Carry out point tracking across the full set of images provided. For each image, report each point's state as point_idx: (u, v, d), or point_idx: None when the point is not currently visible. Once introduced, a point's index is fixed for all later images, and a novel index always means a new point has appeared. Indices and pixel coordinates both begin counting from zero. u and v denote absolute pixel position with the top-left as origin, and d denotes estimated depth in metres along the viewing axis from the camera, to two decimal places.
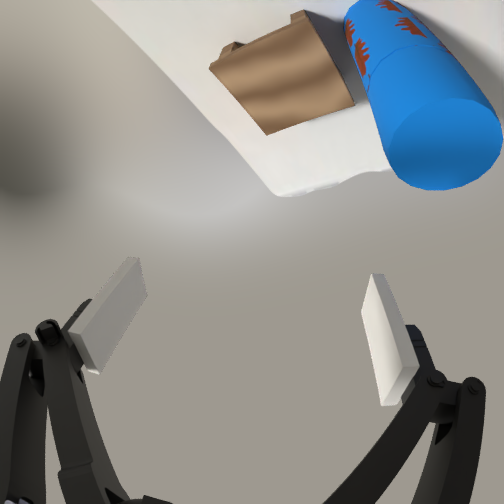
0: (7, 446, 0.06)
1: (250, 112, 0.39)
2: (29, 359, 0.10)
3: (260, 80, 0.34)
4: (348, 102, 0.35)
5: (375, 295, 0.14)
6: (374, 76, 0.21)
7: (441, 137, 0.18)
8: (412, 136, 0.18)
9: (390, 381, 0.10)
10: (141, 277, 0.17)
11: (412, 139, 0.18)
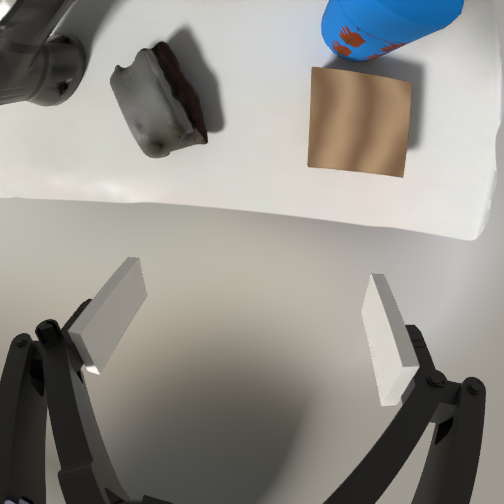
0: (7, 446, 0.06)
1: (371, 170, 0.39)
2: (29, 359, 0.10)
3: (346, 138, 0.37)
4: (406, 85, 0.32)
5: (375, 295, 0.14)
6: (355, 21, 0.21)
7: None
8: None
9: (390, 381, 0.10)
10: (141, 277, 0.17)
11: None
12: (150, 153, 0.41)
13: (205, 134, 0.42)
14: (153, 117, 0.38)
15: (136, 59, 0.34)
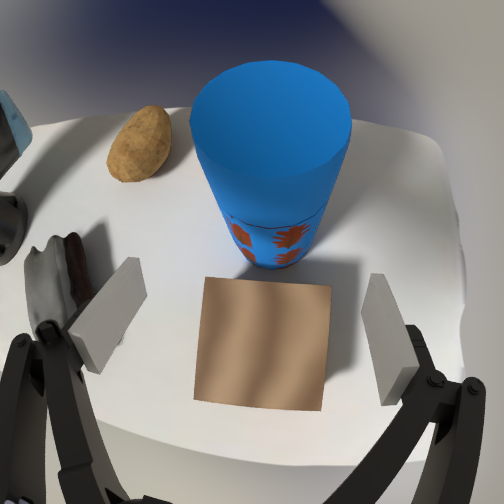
0: (7, 446, 0.06)
1: (275, 405, 0.29)
2: (29, 359, 0.10)
3: (242, 366, 0.31)
4: (324, 291, 0.32)
5: (375, 295, 0.14)
6: (223, 206, 0.24)
7: (243, 113, 0.18)
8: (227, 141, 0.17)
9: (390, 381, 0.10)
10: (141, 277, 0.17)
11: (231, 143, 0.17)
12: None
13: None
14: (48, 311, 0.34)
15: (47, 245, 0.36)
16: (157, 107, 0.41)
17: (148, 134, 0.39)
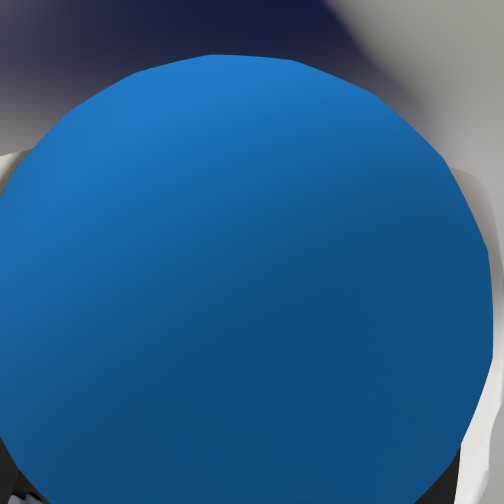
0: None
1: None
2: None
3: None
4: None
5: None
6: None
7: (72, 318, 0.04)
8: (37, 429, 0.04)
9: None
10: None
11: (48, 440, 0.04)
12: None
13: None
14: None
15: None
16: None
17: None
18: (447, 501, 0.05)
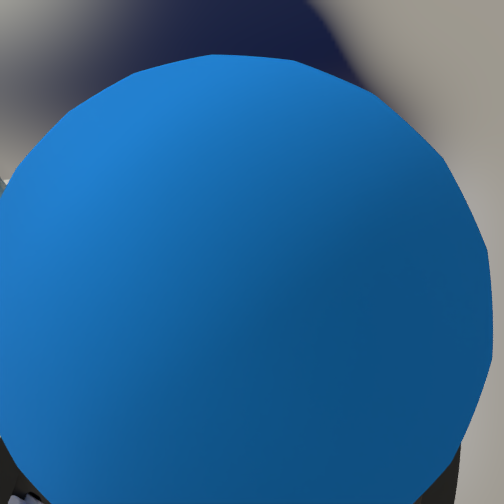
0: None
1: None
2: None
3: None
4: None
5: None
6: None
7: (72, 318, 0.04)
8: (37, 429, 0.04)
9: None
10: None
11: (48, 439, 0.04)
12: None
13: None
14: None
15: None
16: None
17: None
18: (447, 501, 0.05)
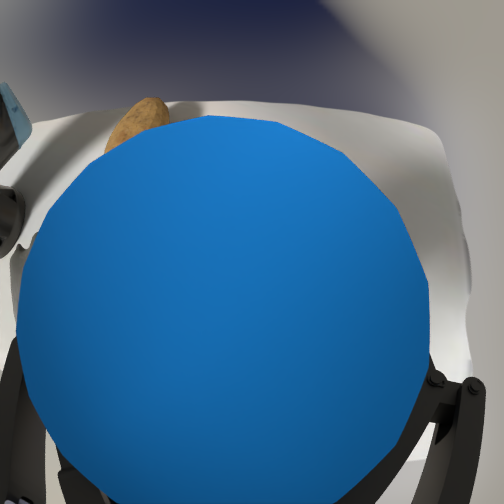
0: (7, 446, 0.06)
1: None
2: None
3: None
4: None
5: None
6: None
7: (113, 337, 0.06)
8: (83, 422, 0.05)
9: None
10: None
11: (92, 429, 0.05)
12: None
13: None
14: None
15: (31, 242, 0.36)
16: (156, 99, 0.41)
17: (146, 124, 0.39)
18: None
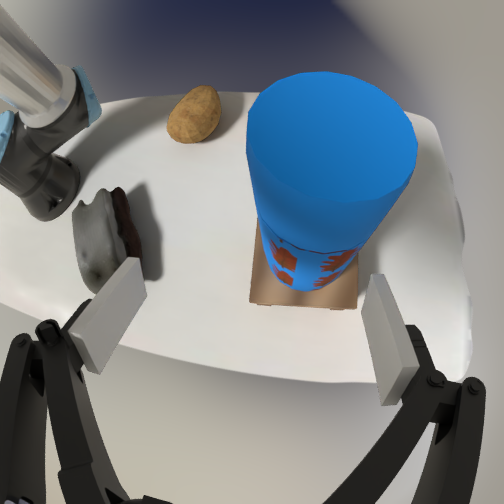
0: (7, 446, 0.06)
1: (319, 303, 0.38)
2: (29, 359, 0.10)
3: None
4: None
5: (375, 295, 0.14)
6: (274, 229, 0.22)
7: (307, 129, 0.16)
8: (293, 160, 0.15)
9: (390, 381, 0.10)
10: (141, 277, 0.17)
11: (299, 161, 0.15)
12: (88, 281, 0.41)
13: None
14: (97, 248, 0.43)
15: (95, 196, 0.46)
16: (209, 86, 0.51)
17: (205, 104, 0.49)
18: None
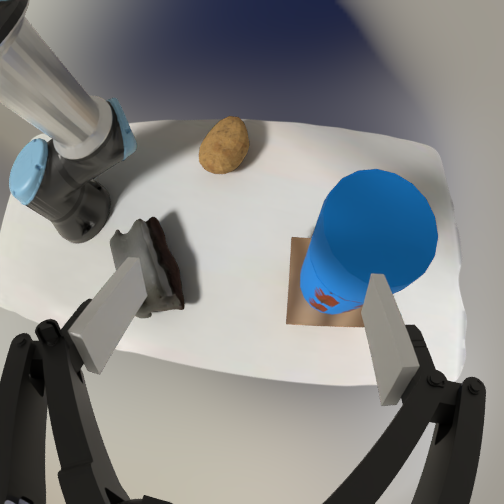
0: (7, 446, 0.06)
1: (343, 323, 0.45)
2: (29, 359, 0.10)
3: None
4: None
5: (375, 295, 0.14)
6: (327, 286, 0.29)
7: (366, 228, 0.23)
8: (358, 256, 0.22)
9: (390, 381, 0.10)
10: (141, 277, 0.17)
11: (361, 257, 0.22)
12: None
13: (182, 300, 0.51)
14: None
15: (133, 227, 0.52)
16: (237, 118, 0.58)
17: (235, 138, 0.55)
18: None
